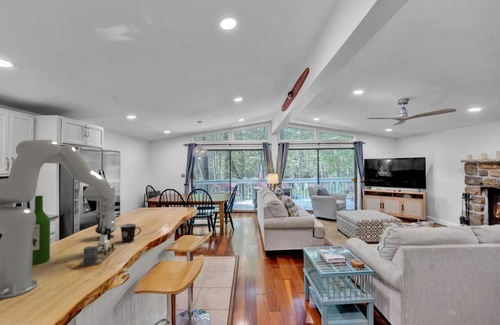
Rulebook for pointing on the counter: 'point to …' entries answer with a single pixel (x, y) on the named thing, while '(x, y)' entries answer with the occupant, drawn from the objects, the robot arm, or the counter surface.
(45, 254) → the wine bottle
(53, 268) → the counter surface
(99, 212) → the apothecary jar
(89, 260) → the pegged board
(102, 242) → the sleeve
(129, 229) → the coffee mug
